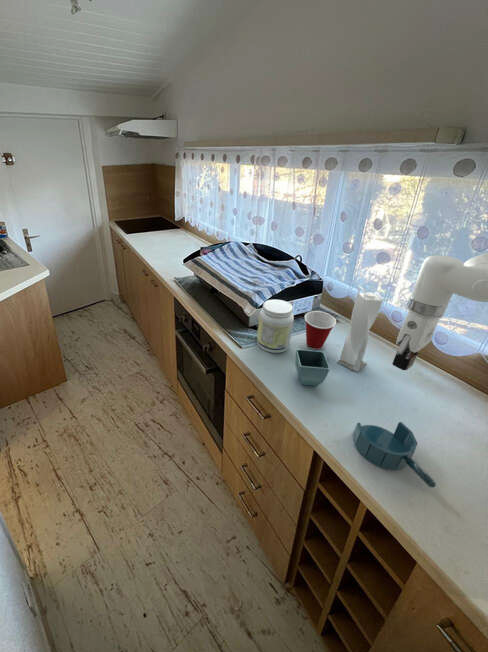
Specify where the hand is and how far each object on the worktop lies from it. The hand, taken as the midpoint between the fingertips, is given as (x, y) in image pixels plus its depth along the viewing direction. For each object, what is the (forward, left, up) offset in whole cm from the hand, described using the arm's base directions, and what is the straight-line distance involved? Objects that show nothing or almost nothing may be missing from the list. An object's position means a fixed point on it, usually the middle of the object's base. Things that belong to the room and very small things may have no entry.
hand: (402, 363), depth 84 cm
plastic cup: (+3, -31, -15) cm, 34 cm away
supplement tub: (+18, -36, -15) cm, 43 cm away
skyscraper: (-3, -19, -15) cm, 24 cm away
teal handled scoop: (+14, +15, -14) cm, 25 cm away
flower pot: (+17, -15, -15) cm, 27 cm away
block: (0, 0, 0) cm, 0 cm away
